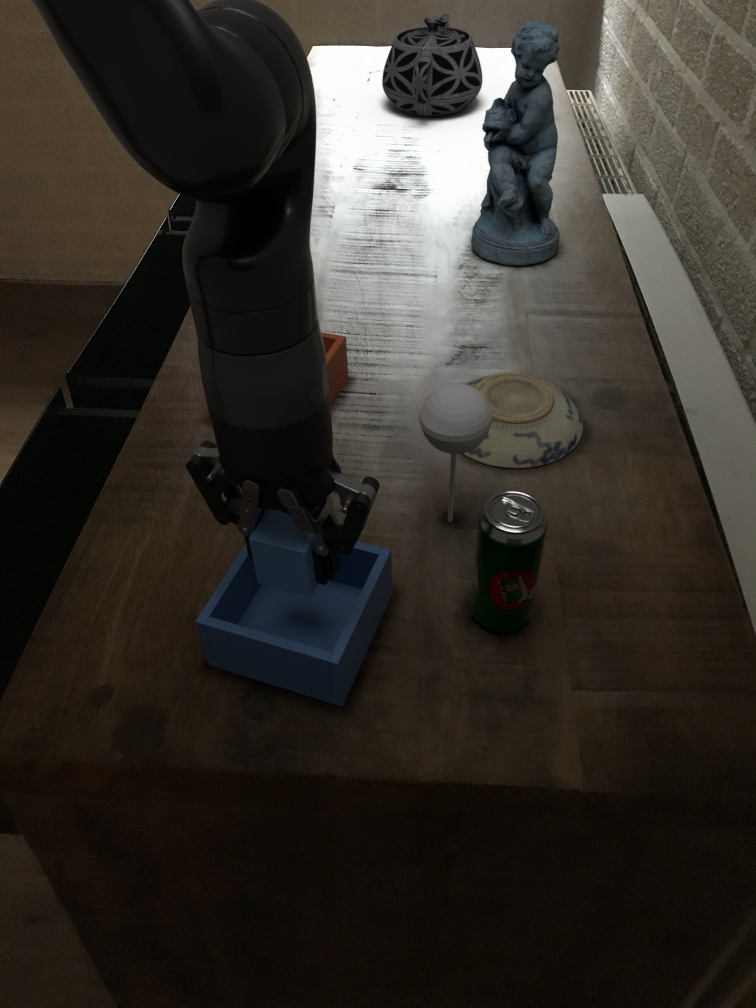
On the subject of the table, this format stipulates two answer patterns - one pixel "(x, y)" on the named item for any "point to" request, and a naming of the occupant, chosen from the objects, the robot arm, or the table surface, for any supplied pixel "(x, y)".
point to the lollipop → (455, 424)
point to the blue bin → (298, 625)
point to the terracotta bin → (332, 364)
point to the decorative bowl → (526, 422)
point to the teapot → (432, 69)
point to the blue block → (282, 555)
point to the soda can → (507, 560)
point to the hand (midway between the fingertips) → (295, 567)
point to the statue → (521, 158)
